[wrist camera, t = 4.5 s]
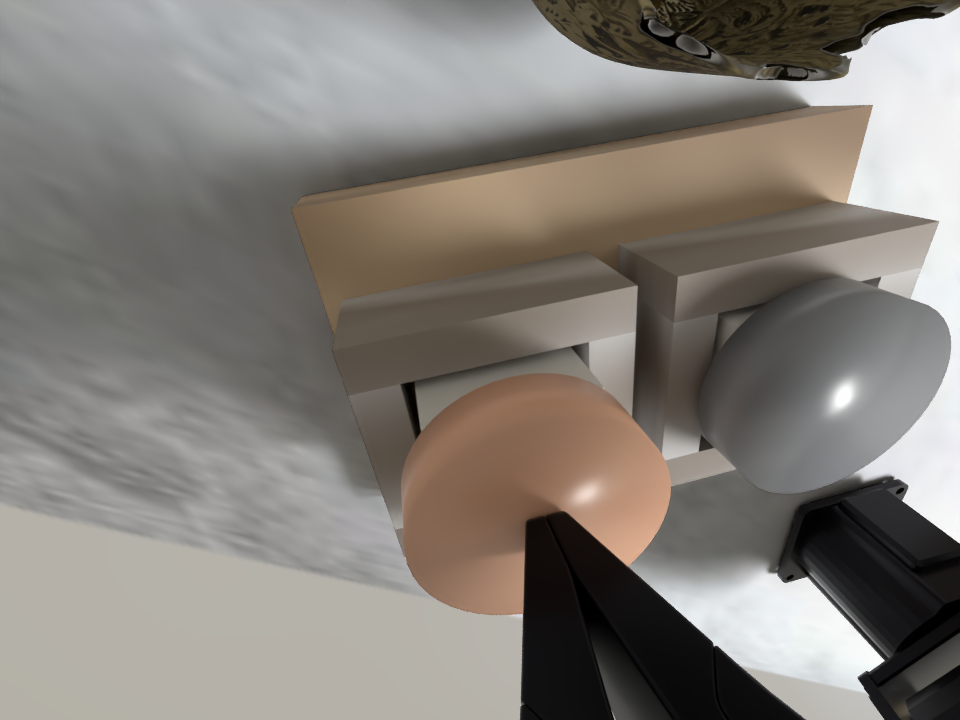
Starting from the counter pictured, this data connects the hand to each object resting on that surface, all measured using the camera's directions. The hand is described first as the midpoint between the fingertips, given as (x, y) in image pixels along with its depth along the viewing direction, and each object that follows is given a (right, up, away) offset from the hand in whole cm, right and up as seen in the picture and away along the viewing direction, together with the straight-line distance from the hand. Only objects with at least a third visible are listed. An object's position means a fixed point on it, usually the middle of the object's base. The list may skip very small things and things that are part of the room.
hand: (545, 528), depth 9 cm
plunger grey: (+7, +4, +6) cm, 10 cm away
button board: (+2, +5, +7) cm, 9 cm away
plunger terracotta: (-1, +2, +4) cm, 4 cm away
